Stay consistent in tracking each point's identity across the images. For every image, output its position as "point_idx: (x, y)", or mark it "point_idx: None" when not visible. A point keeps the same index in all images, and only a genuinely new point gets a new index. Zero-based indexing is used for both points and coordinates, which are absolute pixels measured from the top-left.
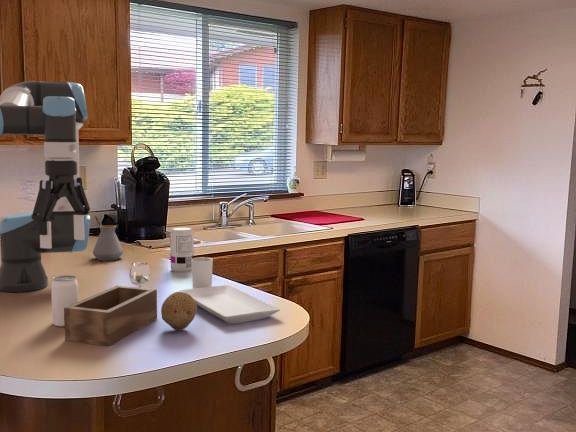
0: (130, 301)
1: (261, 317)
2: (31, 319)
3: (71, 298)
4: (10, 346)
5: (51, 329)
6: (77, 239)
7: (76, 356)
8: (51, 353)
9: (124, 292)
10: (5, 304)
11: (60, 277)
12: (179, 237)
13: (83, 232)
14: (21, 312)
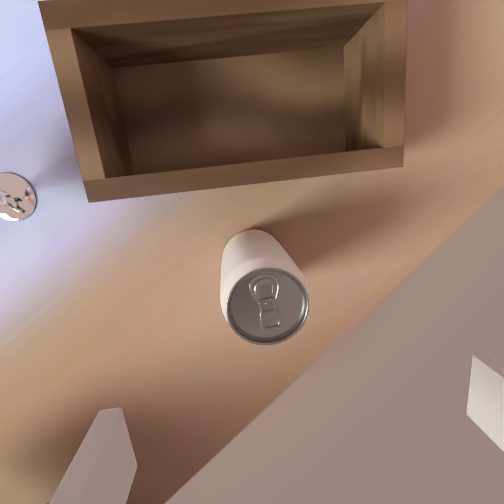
0: None
1: None
2: None
3: (274, 246)
4: (423, 246)
5: (302, 255)
6: (131, 445)
7: (439, 63)
8: (436, 133)
9: (106, 153)
10: (201, 466)
11: (250, 337)
12: None
13: (88, 460)
14: (231, 399)
